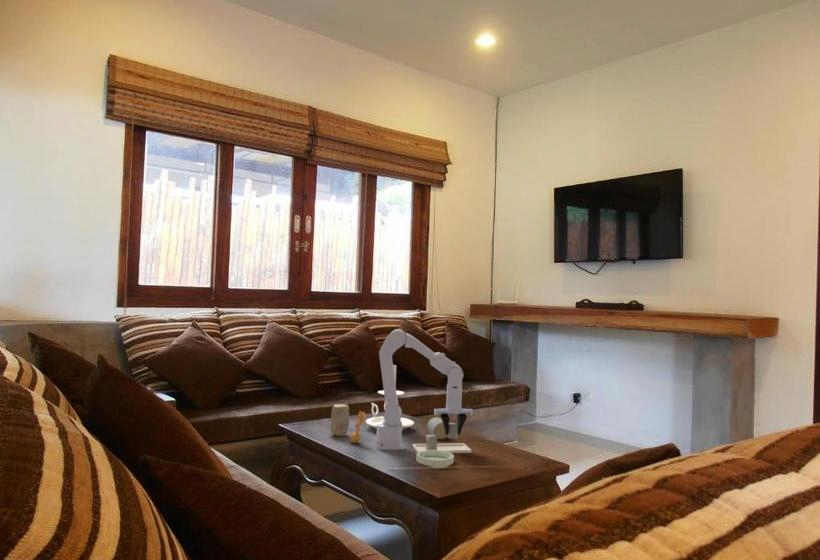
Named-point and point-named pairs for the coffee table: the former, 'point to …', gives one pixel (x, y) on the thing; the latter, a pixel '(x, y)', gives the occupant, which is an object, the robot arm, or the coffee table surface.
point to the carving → (339, 419)
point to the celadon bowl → (435, 458)
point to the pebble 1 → (431, 442)
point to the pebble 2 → (452, 431)
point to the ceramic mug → (436, 428)
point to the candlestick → (379, 420)
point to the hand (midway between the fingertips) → (452, 434)
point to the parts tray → (446, 447)
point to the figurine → (358, 427)
